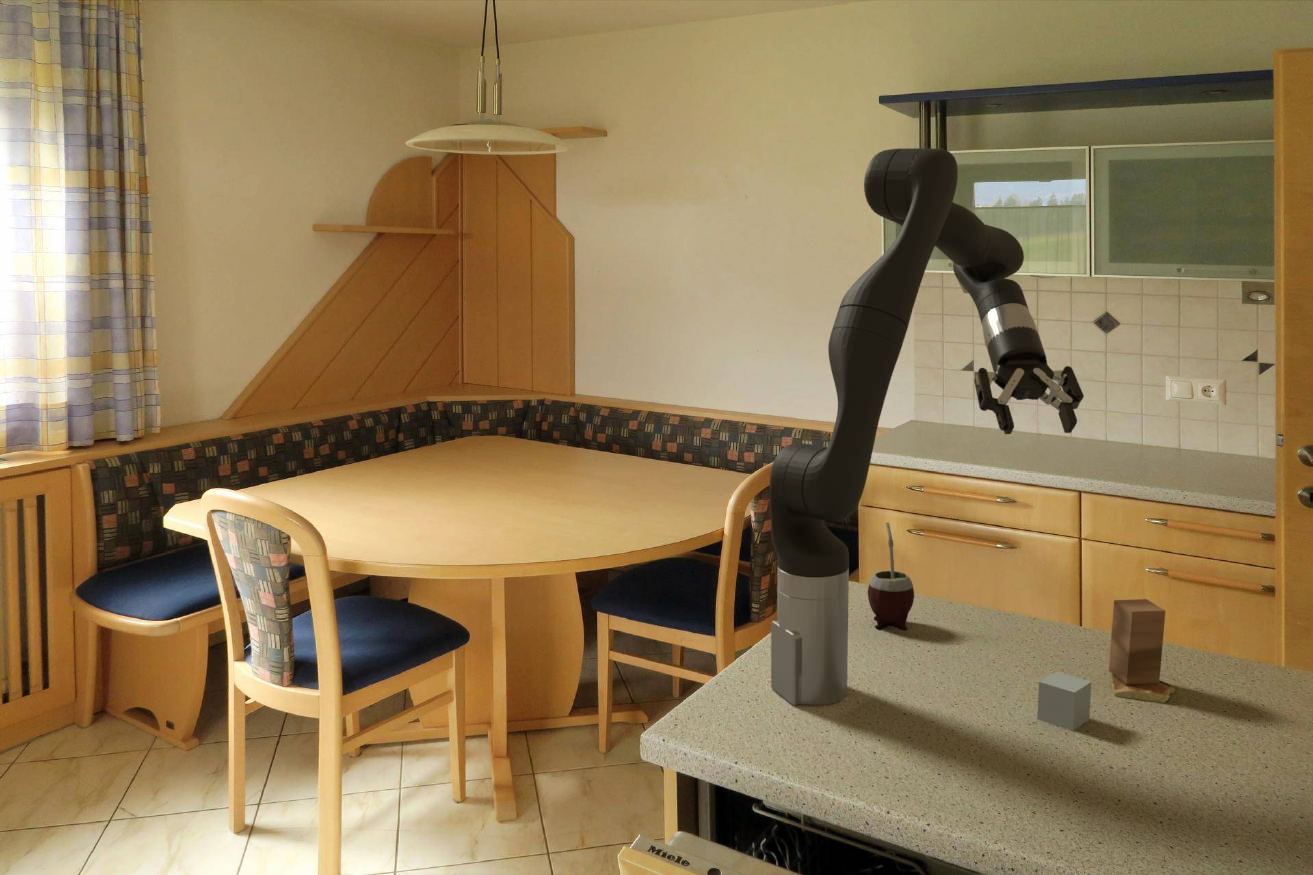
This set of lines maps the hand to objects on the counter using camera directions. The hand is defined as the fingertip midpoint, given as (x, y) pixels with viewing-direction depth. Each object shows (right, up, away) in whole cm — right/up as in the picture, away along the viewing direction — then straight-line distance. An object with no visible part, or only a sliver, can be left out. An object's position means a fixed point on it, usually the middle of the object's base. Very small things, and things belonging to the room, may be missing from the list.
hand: (1040, 430), depth 143 cm
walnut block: (+10, -33, -6) cm, 35 cm away
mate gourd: (-17, -30, +18) cm, 39 cm away
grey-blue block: (-3, -36, -16) cm, 39 cm away
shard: (+9, -35, -6) cm, 37 cm away
